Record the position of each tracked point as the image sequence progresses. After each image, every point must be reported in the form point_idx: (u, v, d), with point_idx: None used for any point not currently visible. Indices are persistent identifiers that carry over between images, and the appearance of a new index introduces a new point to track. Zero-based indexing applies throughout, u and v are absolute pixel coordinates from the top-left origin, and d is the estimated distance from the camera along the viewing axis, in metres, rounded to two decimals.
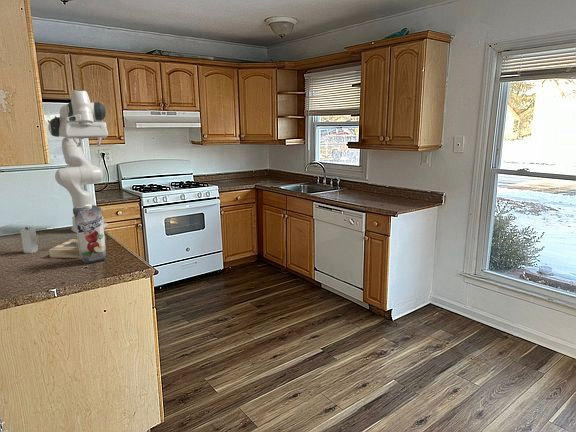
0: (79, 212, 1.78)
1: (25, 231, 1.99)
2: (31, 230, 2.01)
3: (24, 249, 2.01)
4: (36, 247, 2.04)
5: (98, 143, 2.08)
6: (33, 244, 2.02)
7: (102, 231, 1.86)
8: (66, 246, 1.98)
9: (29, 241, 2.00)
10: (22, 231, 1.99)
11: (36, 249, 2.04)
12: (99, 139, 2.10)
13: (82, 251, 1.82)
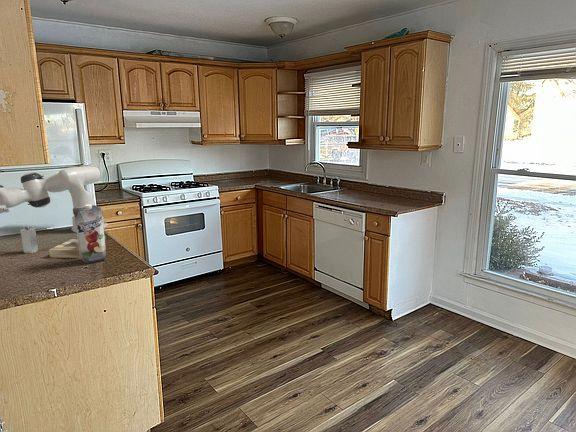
0: (79, 212, 1.78)
1: (25, 231, 1.99)
2: (31, 230, 2.01)
3: (24, 249, 2.01)
4: (36, 247, 2.04)
5: (6, 208, 2.05)
6: (33, 244, 2.02)
7: (102, 231, 1.86)
8: (66, 246, 1.98)
9: (29, 241, 2.00)
10: (22, 231, 1.99)
11: (36, 249, 2.04)
12: (3, 211, 2.06)
13: (82, 251, 1.82)
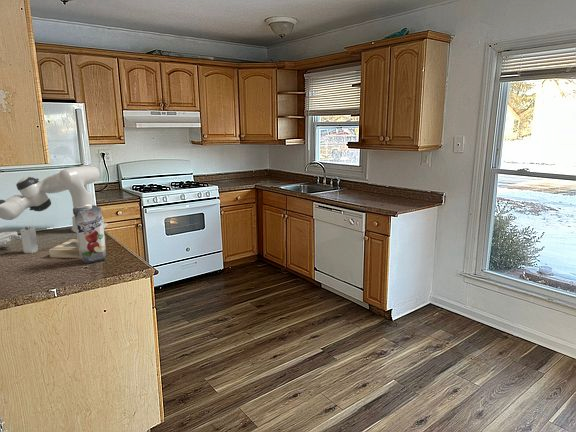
0: (79, 212, 1.78)
1: (25, 231, 1.99)
2: (31, 230, 2.01)
3: (24, 249, 2.01)
4: (36, 247, 2.04)
5: (17, 235, 2.07)
6: (33, 244, 2.02)
7: (102, 231, 1.86)
8: (66, 246, 1.98)
9: (29, 241, 2.00)
10: (22, 231, 1.99)
11: (36, 249, 2.04)
12: None
13: (82, 251, 1.82)
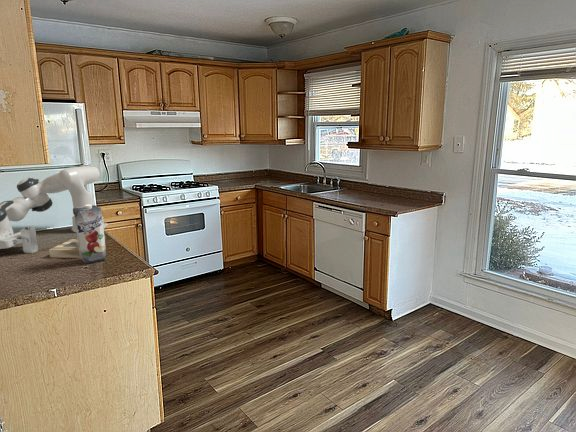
0: (79, 212, 1.78)
1: (25, 231, 1.99)
2: (31, 230, 2.01)
3: (24, 249, 2.01)
4: (36, 247, 2.04)
5: None
6: (33, 244, 2.02)
7: (102, 231, 1.86)
8: (66, 246, 1.98)
9: (29, 241, 2.00)
10: (22, 231, 1.99)
11: (36, 249, 2.04)
12: None
13: (82, 251, 1.82)
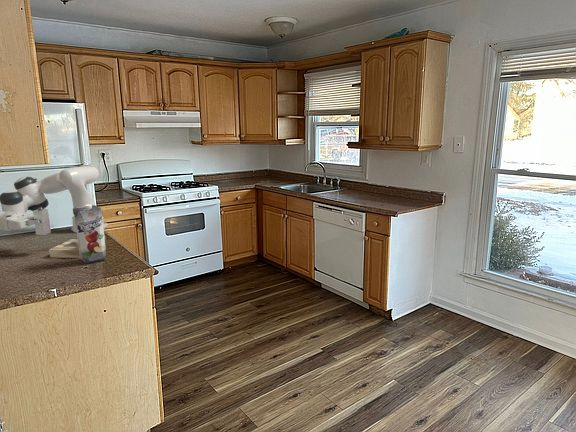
0: (79, 212, 1.78)
1: (38, 212, 1.95)
2: (44, 211, 1.96)
3: (36, 231, 1.97)
4: (49, 229, 2.00)
5: None
6: (45, 226, 1.97)
7: (102, 231, 1.86)
8: (66, 246, 1.98)
9: (42, 222, 1.95)
10: (35, 212, 1.95)
11: (48, 231, 2.00)
12: None
13: (82, 251, 1.82)
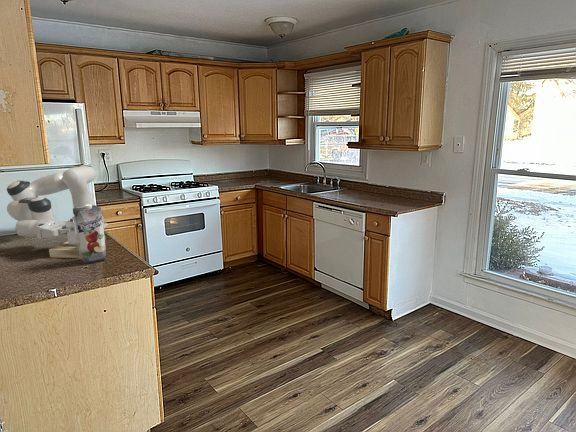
0: (79, 212, 1.78)
1: (70, 223, 1.97)
2: None
3: (69, 241, 1.99)
4: None
5: None
6: None
7: (102, 231, 1.86)
8: (66, 246, 1.98)
9: (74, 233, 1.98)
10: (67, 223, 1.97)
11: None
12: None
13: (82, 251, 1.82)
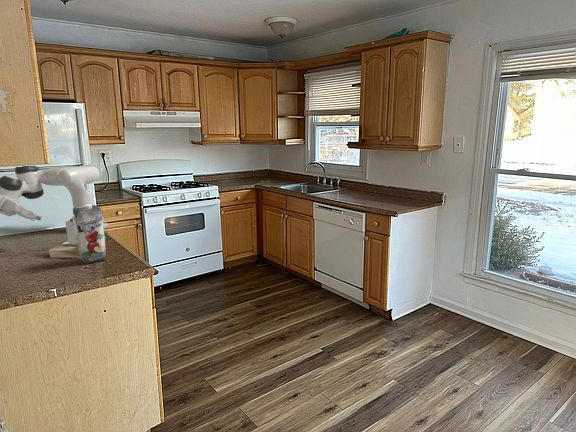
0: (79, 212, 1.78)
1: (70, 223, 1.97)
2: None
3: (69, 241, 1.99)
4: None
5: (39, 216, 2.04)
6: None
7: (102, 231, 1.86)
8: (66, 246, 1.98)
9: (74, 233, 1.98)
10: (67, 223, 1.97)
11: None
12: (34, 217, 2.05)
13: (82, 251, 1.82)
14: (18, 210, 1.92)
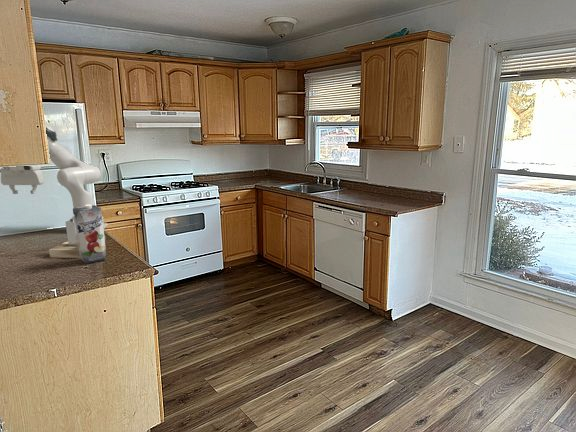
0: (79, 212, 1.78)
1: (70, 223, 1.97)
2: None
3: (69, 241, 1.99)
4: None
5: None
6: None
7: (102, 231, 1.86)
8: (66, 246, 1.98)
9: (74, 233, 1.98)
10: (67, 223, 1.97)
11: None
12: (11, 186, 2.01)
13: (82, 251, 1.82)
14: (37, 184, 1.99)
